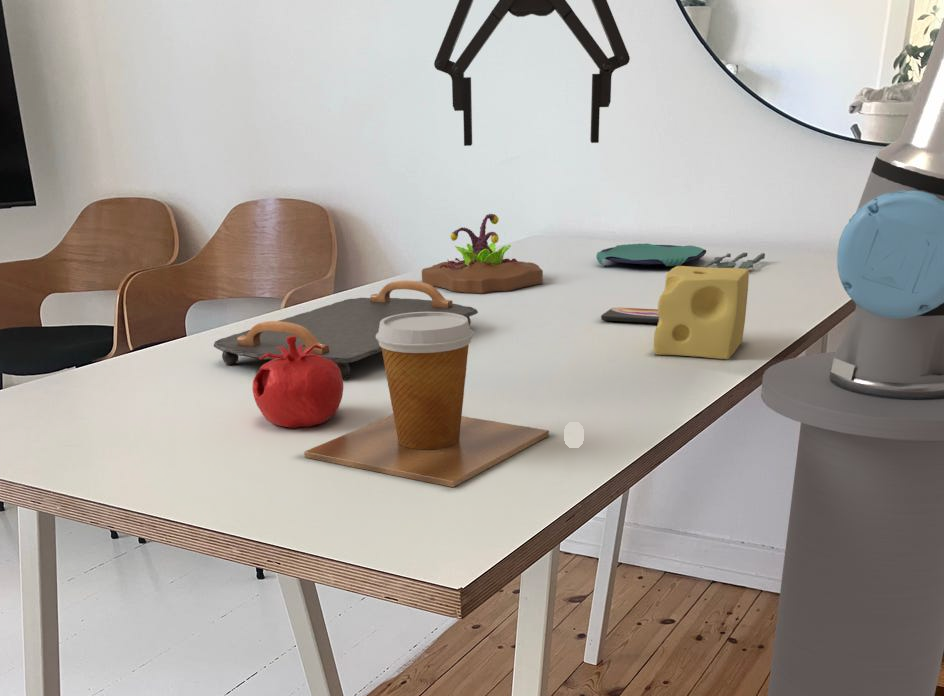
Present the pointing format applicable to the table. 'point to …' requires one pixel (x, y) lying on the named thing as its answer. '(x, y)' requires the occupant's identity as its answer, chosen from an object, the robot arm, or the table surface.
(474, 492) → the table surface
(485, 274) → the plant
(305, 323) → the serving tray
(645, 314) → the smartphone
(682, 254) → the cutlery set
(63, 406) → the table surface
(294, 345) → the pomegranate
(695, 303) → the cheese
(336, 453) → the wooden board
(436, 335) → the disposable coffee cup
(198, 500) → the table surface
